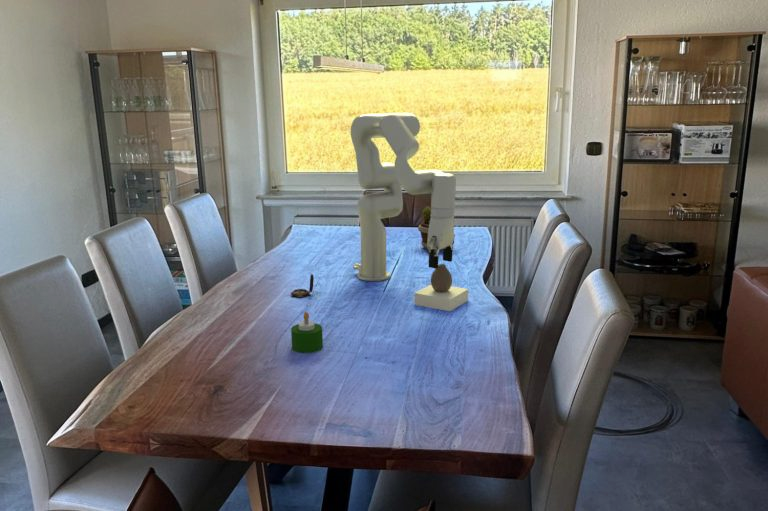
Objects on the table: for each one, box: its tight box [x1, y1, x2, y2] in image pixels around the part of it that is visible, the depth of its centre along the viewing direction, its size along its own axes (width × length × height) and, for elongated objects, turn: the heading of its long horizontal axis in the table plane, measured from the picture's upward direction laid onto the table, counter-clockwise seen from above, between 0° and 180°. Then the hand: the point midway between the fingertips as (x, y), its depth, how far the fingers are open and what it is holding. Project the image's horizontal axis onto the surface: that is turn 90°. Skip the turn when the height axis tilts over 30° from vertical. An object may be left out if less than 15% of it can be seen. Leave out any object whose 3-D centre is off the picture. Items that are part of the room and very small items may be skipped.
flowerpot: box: [417, 205, 444, 251], centre depth 278 cm, size 14×15×20 cm
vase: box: [430, 263, 453, 293], centre depth 203 cm, size 7×7×9 cm
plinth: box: [413, 284, 469, 312], centre depth 204 cm, size 13×13×4 cm
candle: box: [290, 311, 324, 354], centre depth 167 cm, size 8×8×10 cm
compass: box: [290, 273, 315, 298], centre depth 212 cm, size 8×8×7 cm
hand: (440, 264), depth 202 cm, fingers open, 9 cm apart
